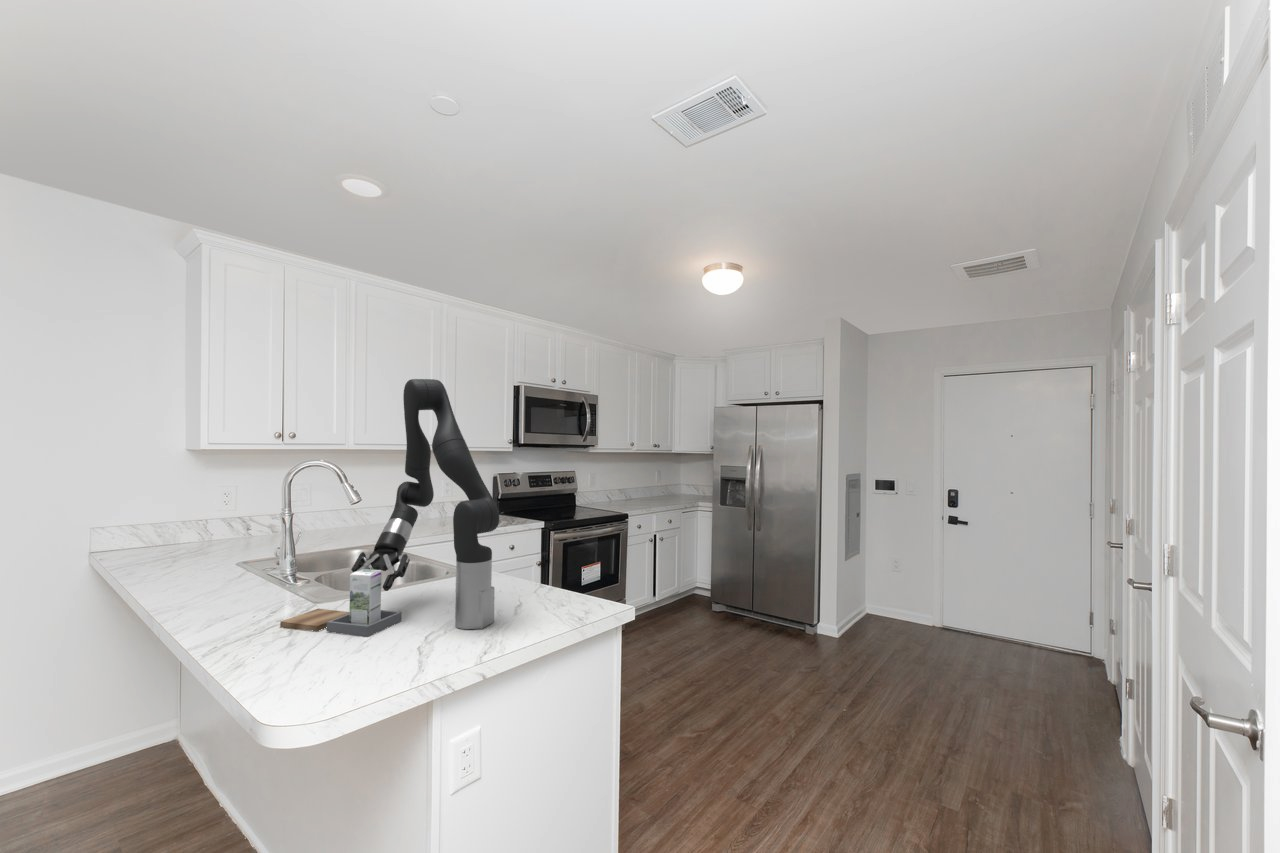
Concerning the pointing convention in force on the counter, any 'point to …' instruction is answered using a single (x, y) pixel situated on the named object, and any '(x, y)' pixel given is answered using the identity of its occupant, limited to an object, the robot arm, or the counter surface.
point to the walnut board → (312, 619)
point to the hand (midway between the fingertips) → (369, 588)
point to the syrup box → (365, 597)
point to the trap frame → (345, 627)
